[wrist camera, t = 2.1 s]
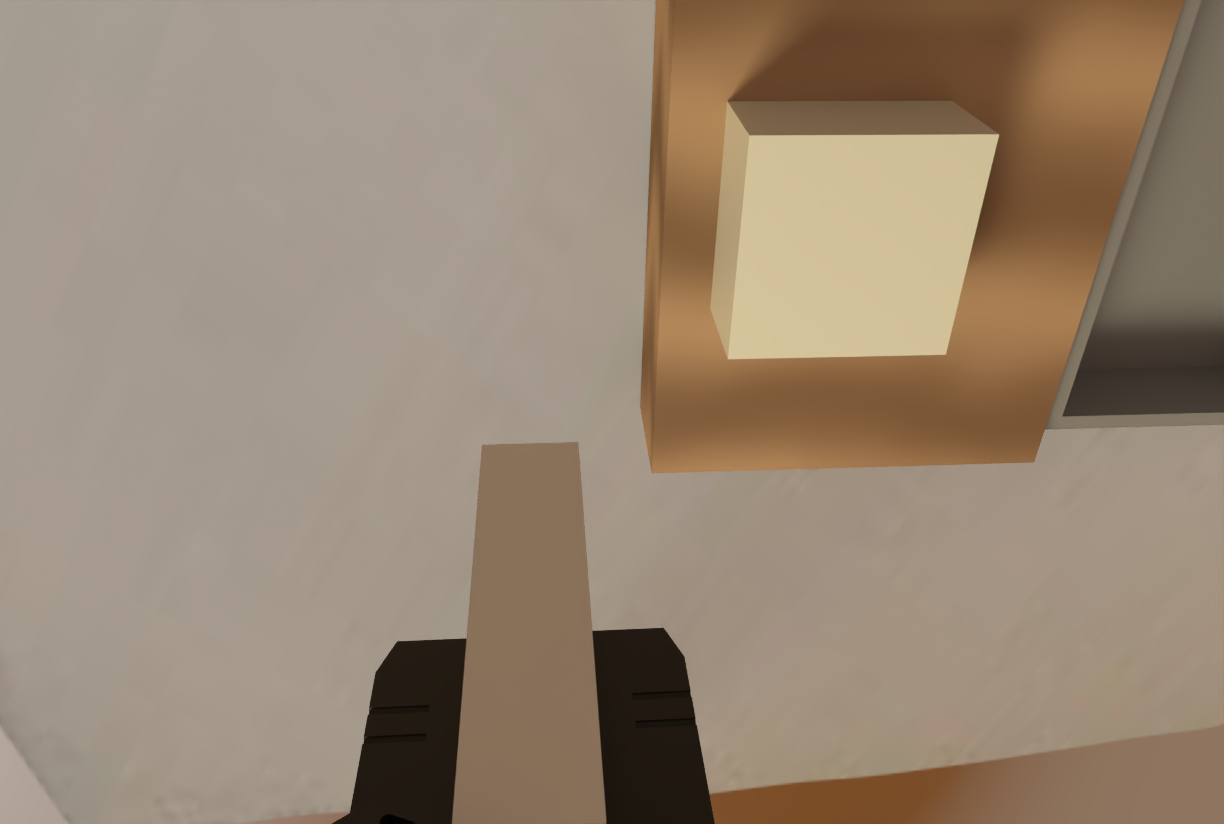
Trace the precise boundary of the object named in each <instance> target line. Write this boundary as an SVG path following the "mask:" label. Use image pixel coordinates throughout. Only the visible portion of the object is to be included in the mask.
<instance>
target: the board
mask: <svg viewBox="0 0 1224 824" xmlns="http://www.w3.org/2000/svg"><path fill="white" fill-rule="evenodd" d="M1183 3H1184V0H656V15H655V41H654V67H653V93H652V119H651V145H650V171H649V197H648V223H647V249H646V275H645V301H644V327H643V353H642V379H641V405H640V408H641V414H642V420H643V425H644V431H645V437H646V443H647V448H648V454H649V460H650V466H651V471H652V473H678V472H713V471H748V470H783V469H818V468H853V467H888V466H923V465H957V464H992V463H1027V462H1034V461H1035V458H1036V454H1037V451H1038V448H1039V445H1040V442H1041V439H1042V436H1043V433H1044V430H1045V427H1046V424H1047V421H1048V418H1049V415H1050V411H1051V408H1052V405H1053V402H1054V399H1055V396H1056V393H1057V390H1058V387H1059V384H1060V381H1061V378H1062V375H1063V372H1064V368H1065V365H1066V362H1067V359H1068V356H1069V353H1070V350H1071V347H1072V344H1073V341H1074V338H1075V335H1076V332H1077V328H1078V325H1079V322H1080V319H1081V316H1082V313H1083V310H1084V307H1085V304H1086V301H1087V298H1088V295H1089V292H1090V289H1091V285H1092V282H1093V279H1094V276H1095V273H1096V270H1097V267H1098V264H1099V261H1100V258H1101V255H1102V252H1103V249H1104V246H1105V242H1106V239H1107V236H1108V233H1109V230H1110V227H1111V224H1112V221H1113V218H1114V215H1115V212H1116V209H1117V206H1118V202H1119V199H1120V196H1121V193H1122V190H1123V187H1124V184H1125V181H1126V178H1127V175H1128V172H1129V169H1130V166H1131V163H1132V159H1133V156H1134V153H1135V150H1136V147H1137V144H1138V141H1139V138H1140V135H1141V132H1142V129H1143V126H1144V123H1145V120H1146V116H1147V113H1148V110H1149V107H1150V104H1151V101H1152V98H1153V95H1154V92H1155V89H1156V86H1157V83H1158V80H1159V76H1160V73H1161V70H1162V67H1163V64H1164V61H1165V58H1166V55H1167V52H1168V49H1169V46H1170V43H1171V40H1172V37H1173V33H1174V30H1175V27H1176V24H1177V21H1178V18H1179V15H1180V12H1181V9H1182V6H1183ZM727 101H953V102H954V103H956V104H957V105H959V106H960V107H961V108H963V109H964V110H966V111H967V112H969V113H970V114H971V115H973V116H974V117H976V118H977V119H978V120H980V121H981V122H983V123H984V124H985V125H987V126H988V127H990V128H991V129H992V130H994V131H995V132H997V133H998V134H999V138H998V142H997V146H996V150H995V154H994V158H993V162H992V166H991V170H990V175H989V179H988V183H987V187H986V191H985V195H984V199H983V203H982V208H981V212H980V216H979V220H978V224H977V228H976V232H975V236H974V241H973V245H972V249H971V253H970V257H969V261H968V265H967V269H966V274H965V278H964V282H963V286H962V290H961V294H960V298H959V302H958V307H957V311H956V315H955V319H954V323H953V327H952V331H951V335H950V340H949V344H948V348H947V352H946V355H912V356H864V357H815V358H767V359H728V358H727V355H726V352H725V350H724V347H723V344H722V341H721V338H720V335H719V332H718V329H717V327H716V324H715V321H714V318H713V315H712V312H711V309H710V307H711V294H712V282H713V270H714V258H715V245H716V233H717V221H718V209H719V196H720V184H721V172H722V160H723V147H724V135H725V123H726V111H727Z"/></svg>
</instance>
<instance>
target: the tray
mask: <svg viewBox="0 0 1224 824" xmlns="http://www.w3.org/2000/svg"><path fill="white" fill-rule="evenodd" d="M1190 425H1224V0H1184V3H1183V6H1182V9H1181V12H1180V15H1179V18H1178V21H1177V24H1176V27H1175V30H1174V33H1173V37H1172V40H1171V43H1170V46H1169V49H1168V52H1167V55H1166V58H1165V61H1164V64H1163V67H1162V70H1161V73H1160V76H1159V80H1158V83H1157V86H1156V89H1155V92H1154V95H1153V98H1152V101H1151V104H1150V107H1149V110H1148V113H1147V116H1146V120H1145V123H1144V126H1143V129H1142V132H1141V135H1140V138H1139V141H1138V144H1137V147H1136V150H1135V153H1134V156H1133V159H1132V163H1131V166H1130V169H1129V172H1128V175H1127V178H1126V181H1125V184H1124V187H1123V190H1122V193H1121V196H1120V199H1119V202H1118V206H1117V209H1116V212H1115V215H1114V218H1113V221H1112V224H1111V227H1110V230H1109V233H1108V236H1107V239H1106V242H1105V246H1104V249H1103V252H1102V255H1101V258H1100V261H1099V264H1098V267H1097V270H1096V273H1095V276H1094V279H1093V282H1092V285H1091V289H1090V292H1089V295H1088V298H1087V301H1086V304H1085V307H1084V310H1083V313H1082V316H1081V319H1080V322H1079V325H1078V328H1077V332H1076V335H1075V338H1074V341H1073V344H1072V347H1071V350H1070V353H1069V356H1068V359H1067V362H1066V365H1065V368H1064V372H1063V375H1062V378H1061V381H1060V384H1059V387H1058V390H1057V393H1056V396H1055V399H1054V402H1053V405H1052V408H1051V411H1050V415H1049V418H1048V421H1047V424H1046V427H1045V429H1075V428H1114V427H1152V426H1190Z"/></svg>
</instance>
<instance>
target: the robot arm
mask: <svg viewBox="0 0 1224 824" xmlns="http://www.w3.org/2000/svg"><path fill="white" fill-rule="evenodd" d="M332 824H715V823H714V818H713V812H712V807H711V801H710V796H709V790H708V785H707V779H706V774H705V768H704V763H703V757H702V752H701V746H700V741H699V735H698V730H697V725H696V722H695V713H694V707H693V702H692V697H691V695H690V685H689V680H688V674H687V669H686V663H685V658H684V656H683V654H682V653H681V651H680V650H679V649H678V647H677V646H676V644H675V643H674V642H673V640H672V639H671V638H670V636H669V635H668V633H667V632H666V631H665V629H664V628H650V629H627V630H603V631H592V621H591V607H590V594H589V580H588V567H587V553H586V540H585V526H584V513H583V499H582V486H581V472H580V459H579V445H578V442H567V443H532V444H496V445H482V452H481V465H480V477H479V490H478V503H477V515H476V528H475V540H474V553H473V565H472V578H471V590H470V603H469V615H468V628H467V639H444V640H421V641H398V642H397V643H396V644H395V645H394V647H393V648H392V650H391V651H390V653H389V654H388V656H387V657H386V658H385V660H384V661H383V663H382V664H381V666H380V667H379V669H378V670H377V671H376V673H375V679H374V684H373V690H372V695H371V701H370V706H369V715H368V717H367V723H366V728H365V734H364V744H363V745H362V750H361V755H360V761H359V766H358V772H357V777H356V783H355V788H354V794H353V799H352V805H351V810H350V813H349V814H348V815H346V816H344V817H342V818H341V819H339V820H337V821H336V822H334V823H332Z"/></svg>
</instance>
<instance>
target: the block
mask: <svg viewBox="0 0 1224 824" xmlns="http://www.w3.org/2000/svg"><path fill="white" fill-rule="evenodd" d="M998 138H999V134H998V133H997V132H995V131H994V130H992V129H991V128H990V127H988V126H987V125H985V124H984V123H983V122H981V121H980V120H978V119H977V118H976V117H974V116H973V115H971V114H970V113H969V112H967V111H966V110H964V109H963V108H961V107H960V106H959V105H957V104H956V103H954V102H953V101H727V111H726V123H725V135H724V147H723V160H722V172H721V184H720V196H719V209H718V221H717V233H716V245H715V258H714V270H713V282H712V294H711V307H710V309H711V312H712V315H713V318H714V321H715V324H716V327H717V329H718V332H719V335H720V338H721V341H722V344H723V347H724V350H725V352H726V355H727V358H728V359H767V358H815V357H864V356H912V355H946V352H947V348H948V344H949V340H950V335H951V331H952V327H953V323H954V319H955V315H956V311H957V307H958V302H959V298H960V294H961V290H962V286H963V282H964V278H965V274H966V269H967V265H968V261H969V257H970V253H971V249H972V245H973V241H974V236H975V232H976V228H977V224H978V220H979V216H980V212H981V208H982V203H983V199H984V195H985V191H986V187H987V183H988V179H989V175H990V170H991V166H992V162H993V158H994V154H995V150H996V146H997V142H998Z"/></svg>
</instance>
